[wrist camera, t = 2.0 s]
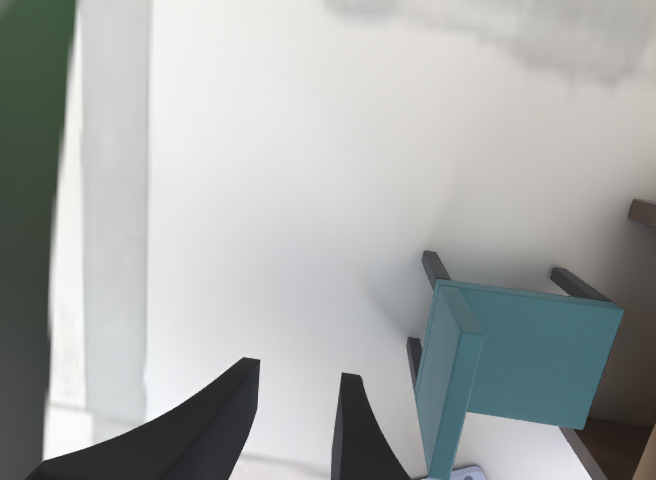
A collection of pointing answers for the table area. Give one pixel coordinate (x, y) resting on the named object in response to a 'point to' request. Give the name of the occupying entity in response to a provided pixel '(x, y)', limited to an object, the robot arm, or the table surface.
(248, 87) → the table surface
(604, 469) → the desk
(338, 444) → the robot arm
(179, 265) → the table surface
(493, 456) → the table surface
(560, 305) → the chair
